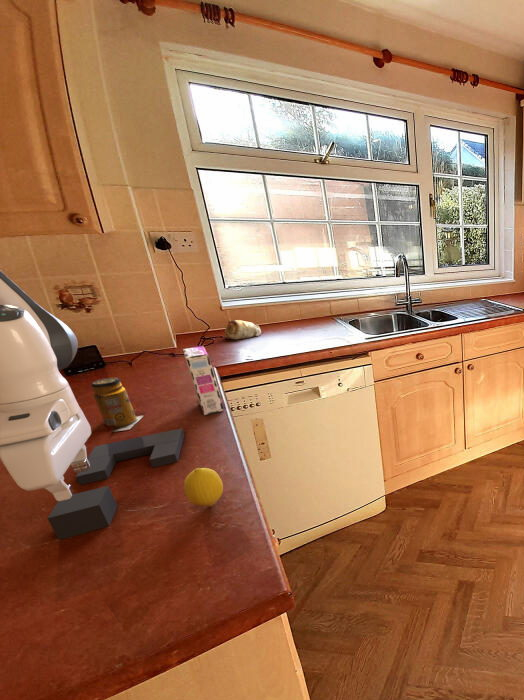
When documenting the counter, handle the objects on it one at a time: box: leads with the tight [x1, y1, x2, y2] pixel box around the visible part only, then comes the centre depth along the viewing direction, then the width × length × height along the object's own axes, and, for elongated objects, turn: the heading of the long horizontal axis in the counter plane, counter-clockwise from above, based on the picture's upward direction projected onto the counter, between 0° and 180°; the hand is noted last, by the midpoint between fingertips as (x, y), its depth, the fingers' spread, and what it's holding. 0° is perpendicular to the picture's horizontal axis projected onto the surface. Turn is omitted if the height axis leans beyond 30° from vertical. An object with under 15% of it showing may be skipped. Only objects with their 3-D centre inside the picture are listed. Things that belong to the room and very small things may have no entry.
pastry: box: [224, 319, 262, 340], centre depth 187 cm, size 14×12×8 cm
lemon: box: [183, 467, 224, 507], centre depth 76 cm, size 6×6×8 cm
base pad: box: [75, 427, 185, 486], centre depth 93 cm, size 16×14×2 cm
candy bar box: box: [182, 345, 225, 416], centre depth 115 cm, size 11×5×16 cm, turn 40°
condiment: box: [91, 377, 144, 433], centre depth 107 cm, size 7×8×12 cm
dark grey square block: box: [47, 485, 119, 541], centre depth 73 cm, size 6×6×4 cm
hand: (75, 483), depth 71 cm, fingers open, 8 cm apart
